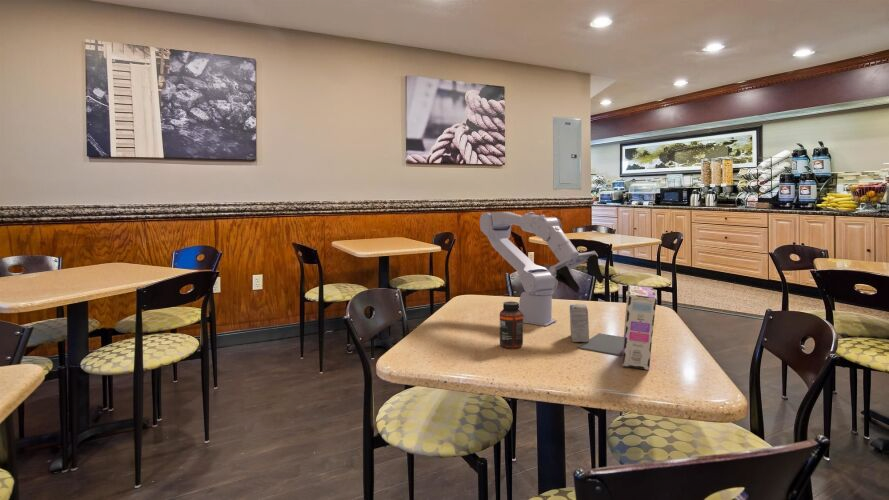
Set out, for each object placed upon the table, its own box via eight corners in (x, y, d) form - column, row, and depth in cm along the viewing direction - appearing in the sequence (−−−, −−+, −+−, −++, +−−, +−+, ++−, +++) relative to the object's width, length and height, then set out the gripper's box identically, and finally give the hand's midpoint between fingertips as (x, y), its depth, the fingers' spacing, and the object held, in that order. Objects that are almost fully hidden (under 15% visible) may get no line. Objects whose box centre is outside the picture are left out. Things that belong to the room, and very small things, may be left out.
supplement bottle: (524, 343, 129) (525, 301, 128) (520, 350, 123) (521, 305, 122) (502, 341, 131) (502, 299, 130) (497, 348, 125) (497, 304, 124)
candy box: (650, 371, 108) (657, 297, 106) (621, 366, 110) (628, 294, 108) (647, 352, 121) (653, 286, 119) (622, 348, 123) (628, 283, 121)
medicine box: (589, 342, 129) (588, 309, 128) (571, 342, 129) (570, 309, 129) (586, 335, 136) (586, 304, 136) (570, 335, 137) (569, 304, 137)
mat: (577, 348, 125) (577, 347, 125) (598, 334, 138) (598, 333, 138) (621, 356, 118) (621, 354, 118) (639, 340, 131) (639, 339, 131)
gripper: (543, 248, 136) (569, 286, 129) (588, 232, 140) (616, 268, 132) (539, 263, 142) (564, 300, 134) (582, 247, 145) (609, 283, 138)
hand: (590, 285), depth 134 cm, fingers open, 7 cm apart
